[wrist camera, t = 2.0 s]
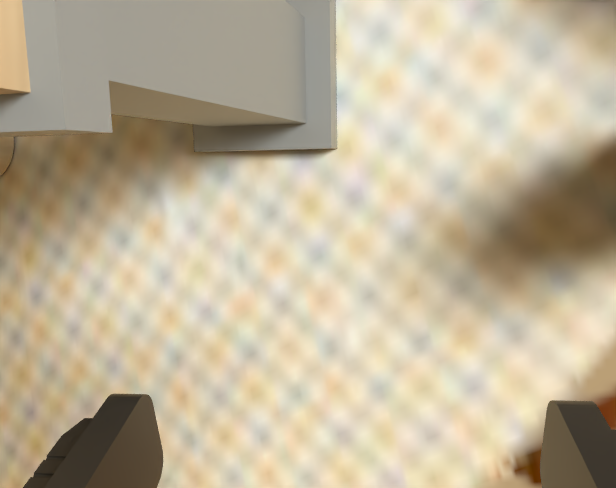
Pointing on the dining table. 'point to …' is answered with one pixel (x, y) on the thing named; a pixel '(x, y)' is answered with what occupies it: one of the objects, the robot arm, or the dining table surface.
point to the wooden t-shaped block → (13, 49)
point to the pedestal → (182, 70)
